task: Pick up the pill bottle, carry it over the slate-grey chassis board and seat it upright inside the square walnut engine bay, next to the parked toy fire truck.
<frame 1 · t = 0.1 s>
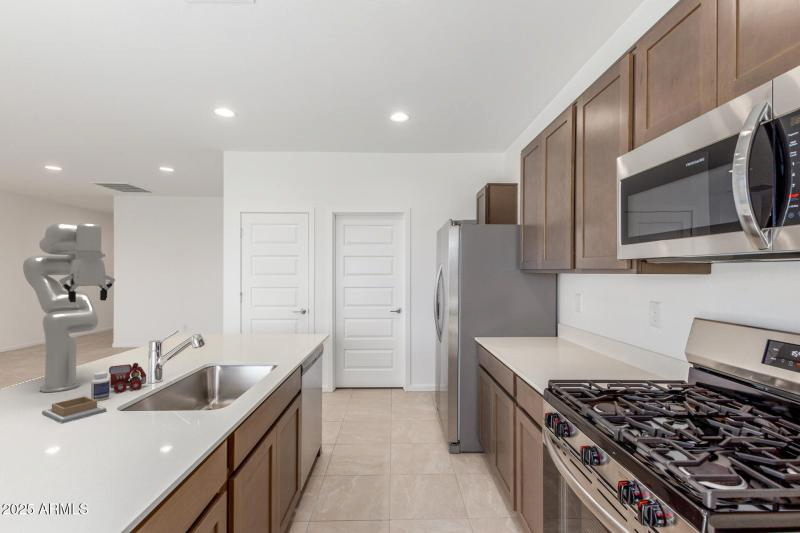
hand: (88, 301, 145), 37 cm above the counter, tool pointing down, fingers open, 9 cm apart
pill bottle: (100, 399, 143), on the counter
toy fire truck: (127, 390, 155), on the counter
bay: (74, 412, 129), on the counter
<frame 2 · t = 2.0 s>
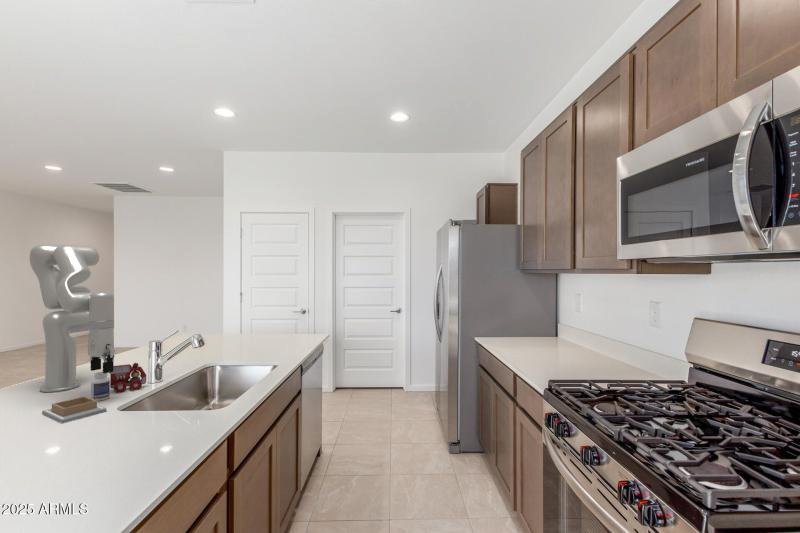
hand: (101, 371, 143), 10 cm above the counter, tool pointing down, fingers open, 9 cm apart
nothing on the counter moved.
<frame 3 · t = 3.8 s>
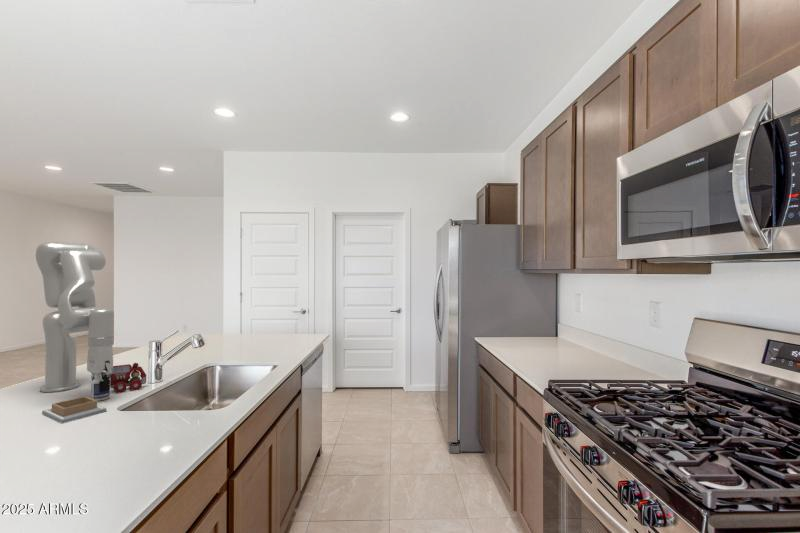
hand: (100, 389, 143), 4 cm above the counter, tool pointing down, fingers closed on pill bottle, 5 cm apart
pill bottle: (100, 399, 143), on the counter, touching gripper
everything else where it was.
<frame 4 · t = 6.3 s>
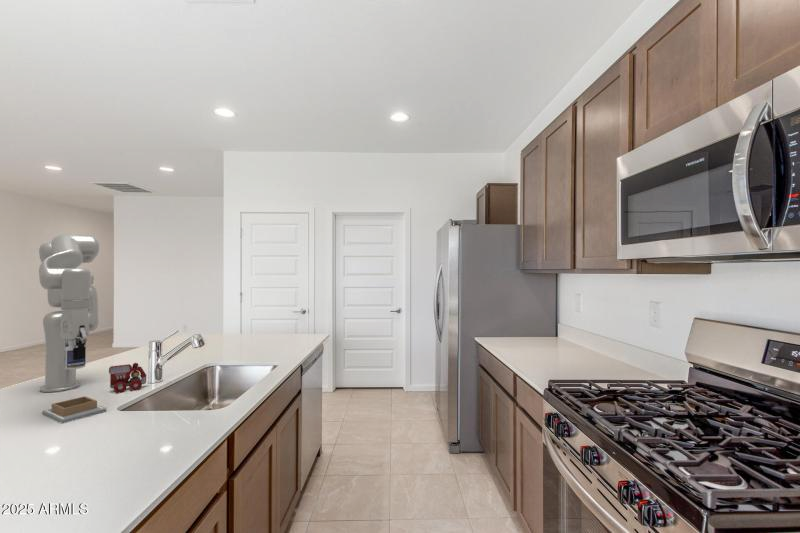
hand: (75, 357, 130), 19 cm above the counter, tool pointing down, fingers closed on pill bottle, 5 cm apart
pill bottle: (75, 368, 130), point 15 cm above the counter, touching gripper
everything else where it was.
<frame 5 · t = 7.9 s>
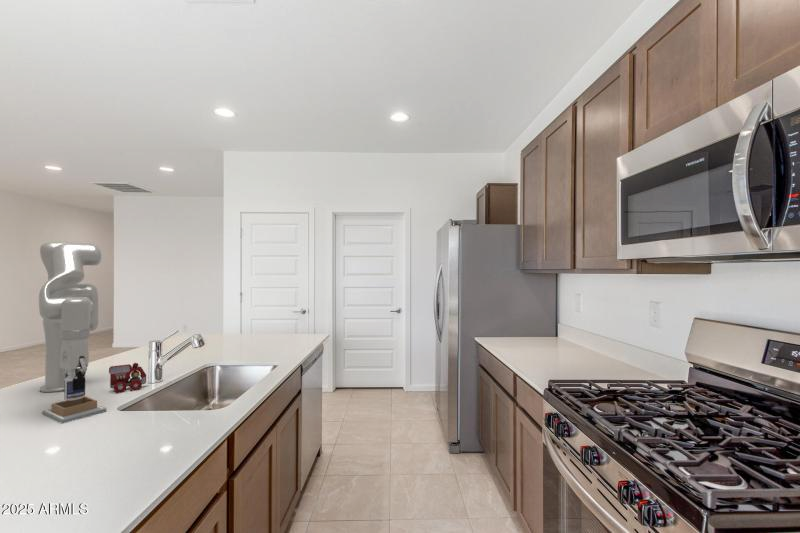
hand: (74, 388, 129), 8 cm above the counter, tool pointing down, fingers closed on pill bottle, 5 cm apart
pill bottle: (74, 398, 129), point 5 cm above the counter, touching gripper
everything else where it was.
when the fingers open (6 cm above the counter, at t = 9.3 s): pill bottle drops 1 cm, resting on bay.
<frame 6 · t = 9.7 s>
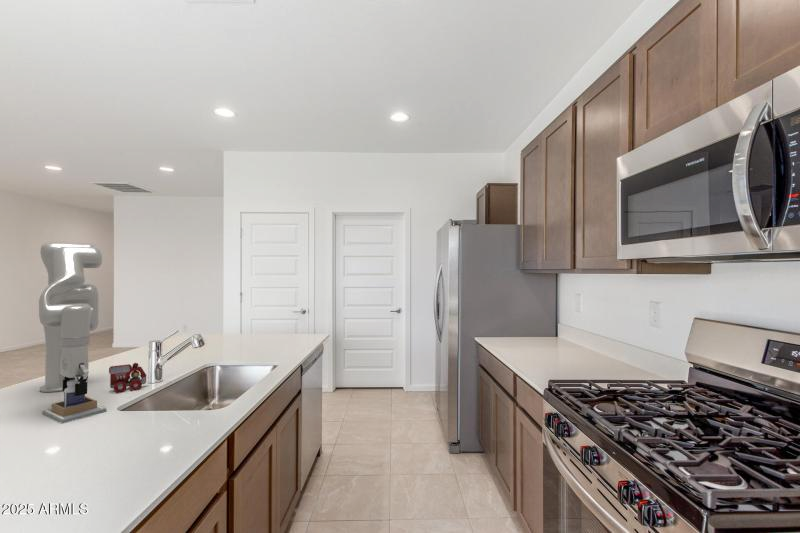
hand: (74, 392, 129), 7 cm above the counter, tool pointing down, fingers open, 9 cm apart
pill bottle: (74, 410, 129), point 1 cm above the counter, touching bay
everything else where it was.
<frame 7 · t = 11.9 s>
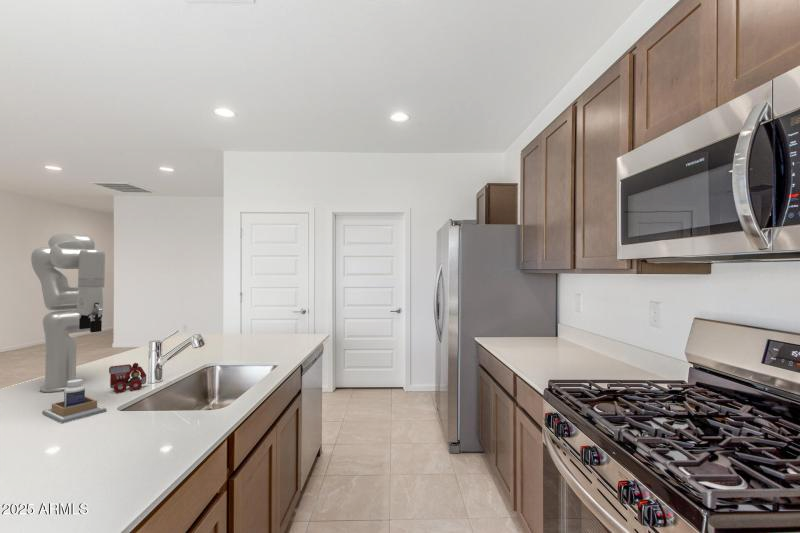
hand: (90, 330, 139), 26 cm above the counter, tool pointing down, fingers open, 9 cm apart
nothing on the counter moved.
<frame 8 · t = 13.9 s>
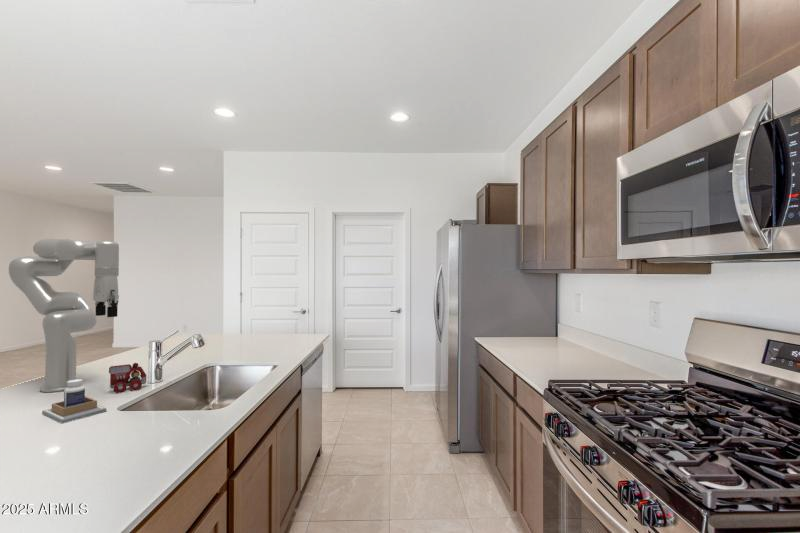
hand: (106, 316, 150), 30 cm above the counter, tool pointing down, fingers open, 9 cm apart
nothing on the counter moved.
at the end: pill bottle 0.3 cm off-centre on the bay, point 0.8 cm above the bay's base; pill bottle tilted 0°; the gripper is holding nothing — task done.
